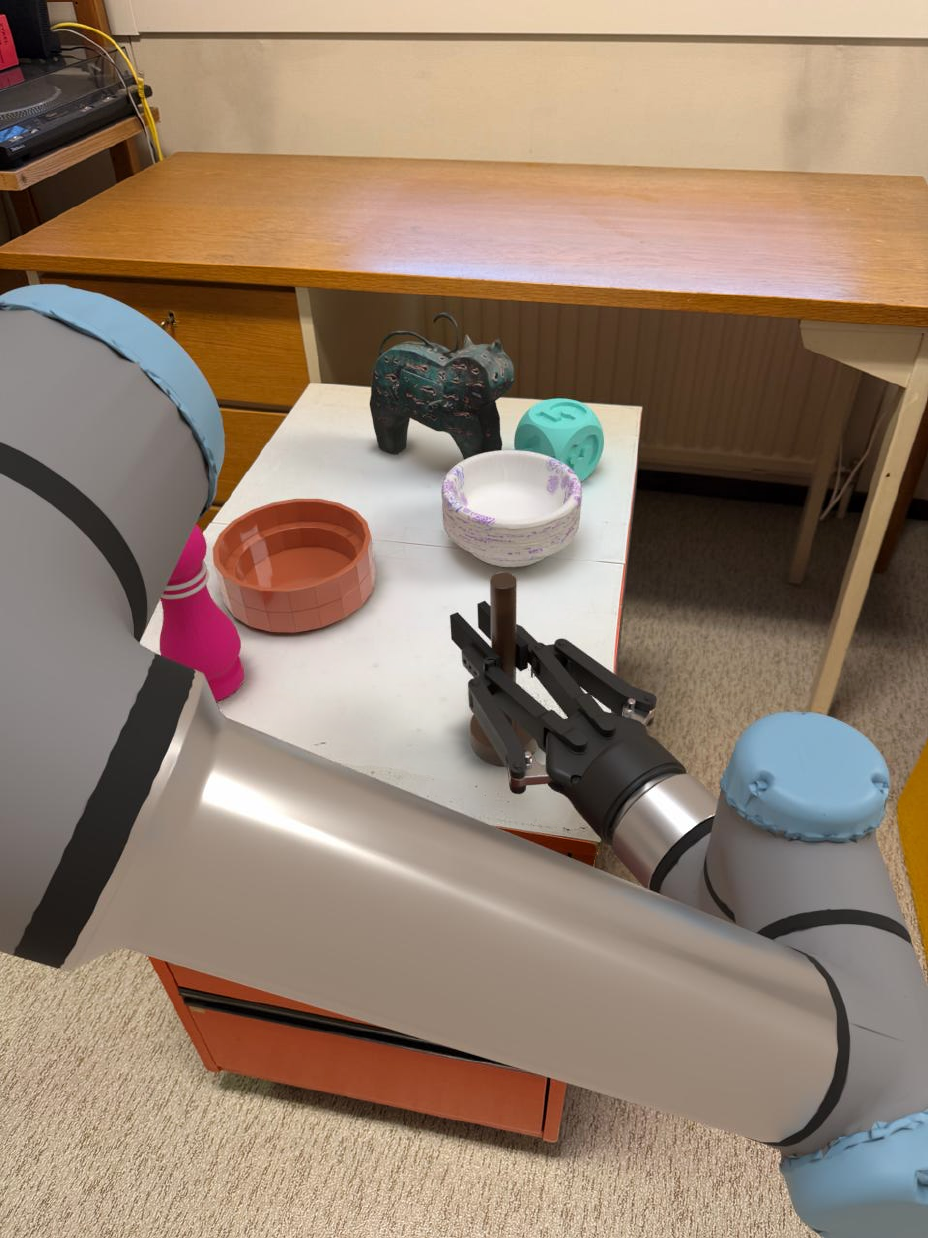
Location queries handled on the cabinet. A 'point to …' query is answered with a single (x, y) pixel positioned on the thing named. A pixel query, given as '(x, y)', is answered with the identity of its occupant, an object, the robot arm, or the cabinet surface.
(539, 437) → the decorative dice
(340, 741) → the cabinet surface
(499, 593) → the dowel on disc base
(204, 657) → the pepper mill
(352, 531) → the bowl
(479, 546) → the paper bowls
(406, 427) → the ceramic cat
